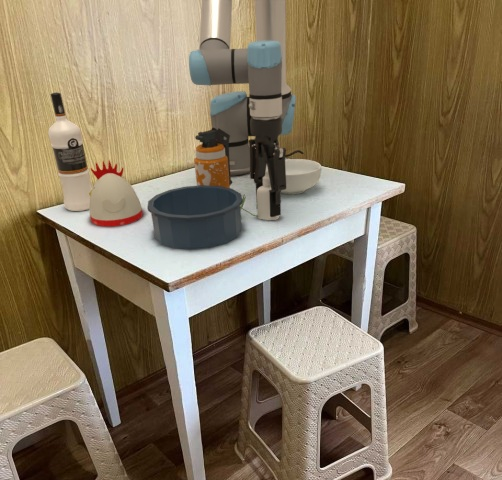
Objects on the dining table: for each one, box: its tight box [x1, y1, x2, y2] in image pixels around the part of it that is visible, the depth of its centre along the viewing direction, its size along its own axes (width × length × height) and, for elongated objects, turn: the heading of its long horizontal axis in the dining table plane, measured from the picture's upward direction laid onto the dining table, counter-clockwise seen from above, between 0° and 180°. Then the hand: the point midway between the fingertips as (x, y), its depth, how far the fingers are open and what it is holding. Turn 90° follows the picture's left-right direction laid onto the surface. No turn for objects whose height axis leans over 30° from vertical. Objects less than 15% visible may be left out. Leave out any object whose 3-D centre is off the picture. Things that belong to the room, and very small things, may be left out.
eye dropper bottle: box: [256, 171, 280, 221], centre depth 131 cm, size 4×6×12 cm
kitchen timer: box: [88, 159, 144, 227], centre depth 136 cm, size 14×14×15 cm
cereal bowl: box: [265, 158, 322, 195], centre depth 151 cm, size 17×17×7 cm
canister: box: [193, 127, 233, 188], centre depth 140 cm, size 9×11×20 cm
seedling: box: [240, 194, 259, 218], centre depth 134 cm, size 7×8×7 cm
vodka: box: [47, 92, 93, 212], centre depth 141 cm, size 9×9×30 cm
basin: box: [147, 185, 243, 250], centre depth 127 cm, size 23×23×8 cm
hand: (268, 211), depth 134 cm, fingers open, 6 cm apart
